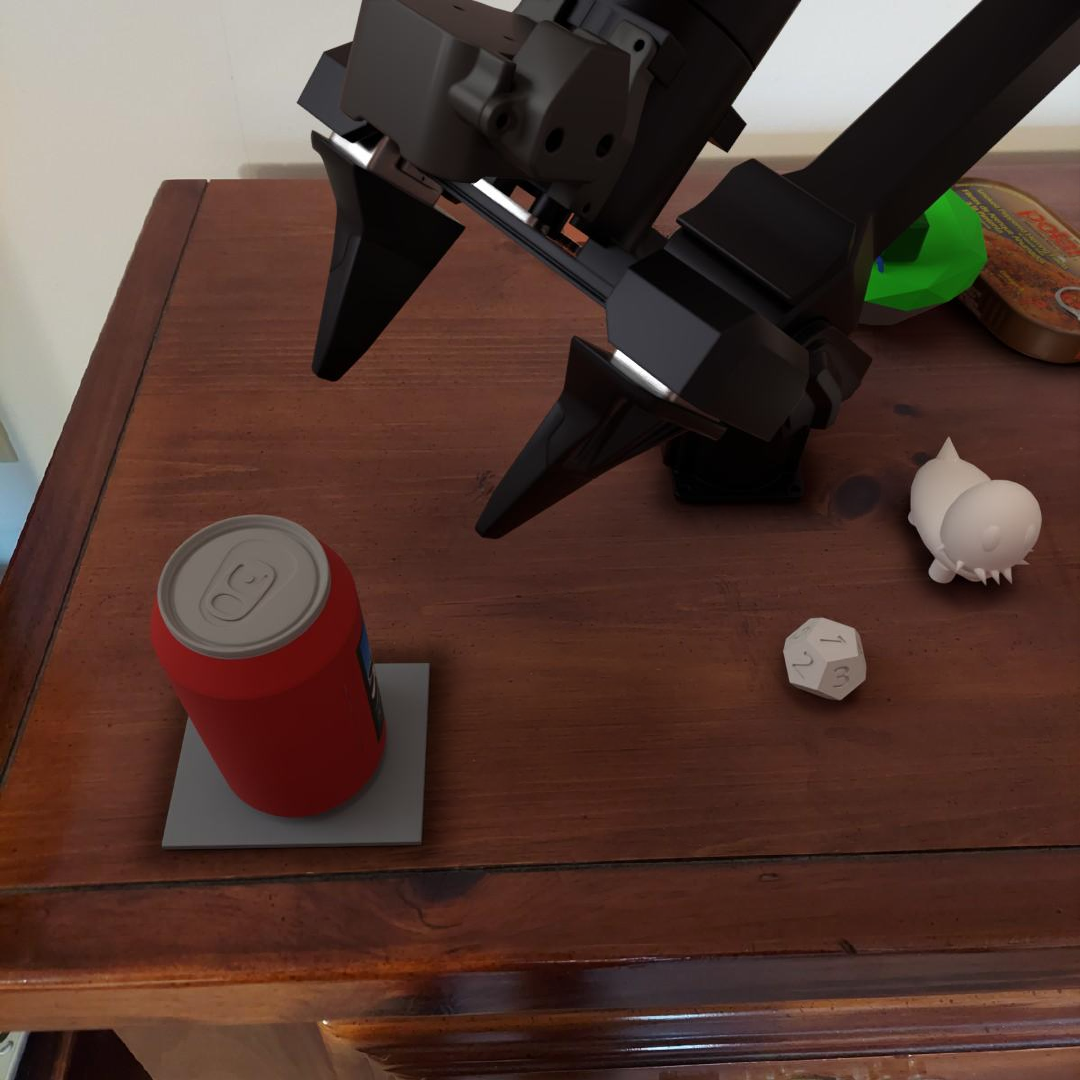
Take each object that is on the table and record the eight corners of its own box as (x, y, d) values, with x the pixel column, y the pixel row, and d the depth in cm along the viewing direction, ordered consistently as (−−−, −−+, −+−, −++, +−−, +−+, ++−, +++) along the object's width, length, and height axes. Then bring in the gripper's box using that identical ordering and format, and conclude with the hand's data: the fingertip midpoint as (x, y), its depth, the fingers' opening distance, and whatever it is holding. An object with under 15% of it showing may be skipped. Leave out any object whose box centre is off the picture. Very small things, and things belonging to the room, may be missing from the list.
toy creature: (927, 621, 46) (977, 539, 41) (878, 487, 51) (918, 399, 46) (1024, 616, 46) (1086, 533, 41) (966, 483, 51) (1015, 395, 46)
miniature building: (979, 367, 56) (1064, 194, 47) (770, 367, 56) (817, 193, 47) (925, 235, 63) (990, 64, 55) (740, 235, 63) (776, 63, 54)
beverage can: (419, 713, 42) (391, 541, 33) (331, 855, 39) (270, 707, 29) (285, 652, 44) (221, 471, 35) (188, 781, 40) (86, 619, 31)
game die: (772, 638, 45) (786, 601, 43) (854, 645, 45) (873, 608, 43) (776, 708, 43) (792, 673, 41) (863, 715, 43) (883, 680, 41)
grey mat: (430, 667, 44) (429, 662, 44) (422, 845, 39) (421, 841, 39) (200, 670, 44) (198, 665, 44) (163, 850, 39) (160, 846, 39)
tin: (892, 191, 62) (1006, 157, 64) (880, 234, 64) (990, 199, 66) (1054, 348, 54) (1180, 304, 55) (1032, 390, 56) (1153, 346, 58)
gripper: (298, -271, 27) (53, 241, 31) (854, -16, 18) (412, 638, 23) (523, -37, 36) (312, 330, 40) (958, 201, 28) (633, 633, 32)
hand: (399, 451), depth 34 cm, fingers open, 9 cm apart
